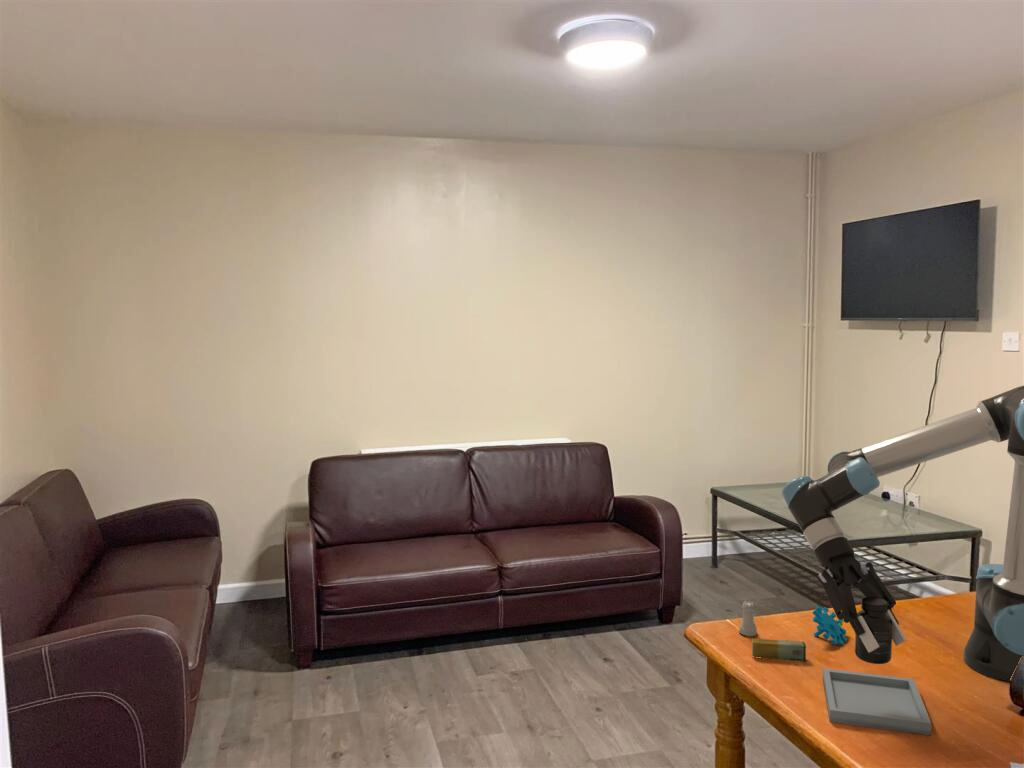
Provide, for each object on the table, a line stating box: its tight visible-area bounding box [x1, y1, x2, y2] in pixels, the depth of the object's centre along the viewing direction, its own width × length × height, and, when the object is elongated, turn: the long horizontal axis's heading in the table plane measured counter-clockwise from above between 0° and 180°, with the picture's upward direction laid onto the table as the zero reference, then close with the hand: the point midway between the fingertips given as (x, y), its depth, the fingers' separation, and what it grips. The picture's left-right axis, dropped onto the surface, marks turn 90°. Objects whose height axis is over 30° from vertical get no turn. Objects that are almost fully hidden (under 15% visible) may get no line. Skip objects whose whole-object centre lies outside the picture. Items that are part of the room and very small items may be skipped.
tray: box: [822, 668, 932, 736], centre depth 161 cm, size 18×18×2 cm
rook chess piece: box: [738, 600, 758, 637], centre depth 196 cm, size 4×4×8 cm
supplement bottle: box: [854, 596, 893, 665], centre depth 160 cm, size 7×7×12 cm
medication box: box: [751, 638, 807, 663], centre depth 183 cm, size 12×3×4 cm, turn 78°
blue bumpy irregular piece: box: [812, 606, 848, 646], centre depth 193 cm, size 11×6×10 cm
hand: (887, 646), depth 157 cm, fingers closed on supplement bottle, 7 cm apart
